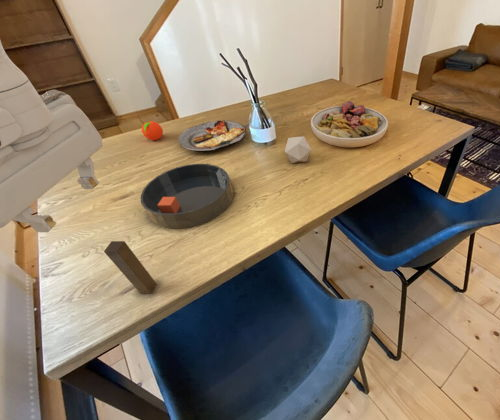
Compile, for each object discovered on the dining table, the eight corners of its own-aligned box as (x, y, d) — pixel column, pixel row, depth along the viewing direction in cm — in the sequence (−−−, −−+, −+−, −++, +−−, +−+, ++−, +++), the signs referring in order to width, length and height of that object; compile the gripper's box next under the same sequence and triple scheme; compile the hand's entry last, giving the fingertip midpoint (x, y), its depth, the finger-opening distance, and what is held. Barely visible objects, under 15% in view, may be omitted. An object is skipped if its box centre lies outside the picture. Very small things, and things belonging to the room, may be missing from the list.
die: (304, 171, 92) (317, 143, 89) (279, 159, 89) (292, 131, 87) (301, 166, 100) (314, 140, 97) (279, 155, 97) (290, 129, 94)
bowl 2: (392, 151, 100) (395, 131, 94) (309, 151, 100) (308, 131, 95) (380, 116, 122) (382, 98, 116) (312, 116, 122) (312, 99, 117)
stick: (151, 293, 58) (117, 251, 48) (140, 293, 58) (103, 251, 48) (156, 283, 60) (124, 241, 50) (145, 283, 60) (111, 241, 50)
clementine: (159, 144, 104) (151, 127, 100) (141, 144, 104) (132, 127, 100) (168, 134, 110) (161, 117, 105) (151, 134, 110) (143, 117, 106)
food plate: (229, 120, 120) (227, 112, 118) (258, 139, 107) (256, 130, 105) (171, 139, 108) (167, 130, 105) (196, 162, 95) (192, 154, 93)
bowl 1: (202, 236, 70) (196, 222, 66) (129, 218, 75) (119, 204, 71) (247, 183, 86) (244, 170, 82) (184, 171, 91) (179, 158, 88)
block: (180, 206, 77) (175, 196, 75) (175, 214, 74) (170, 205, 72) (167, 206, 77) (162, 196, 75) (162, 214, 74) (157, 205, 72)
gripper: (40, 85, 39) (94, 167, 48) (-142, 160, 24) (-12, 260, 33) (84, 84, 39) (130, 167, 48) (-69, 160, 24) (40, 260, 33)
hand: (71, 205), depth 41 cm, fingers open, 8 cm apart
